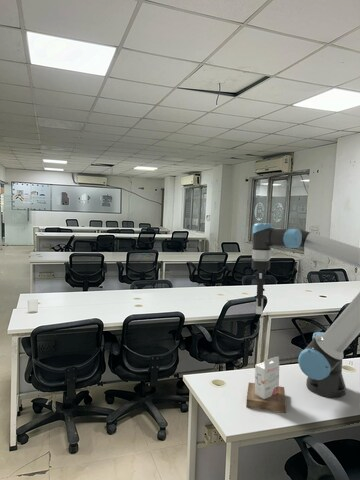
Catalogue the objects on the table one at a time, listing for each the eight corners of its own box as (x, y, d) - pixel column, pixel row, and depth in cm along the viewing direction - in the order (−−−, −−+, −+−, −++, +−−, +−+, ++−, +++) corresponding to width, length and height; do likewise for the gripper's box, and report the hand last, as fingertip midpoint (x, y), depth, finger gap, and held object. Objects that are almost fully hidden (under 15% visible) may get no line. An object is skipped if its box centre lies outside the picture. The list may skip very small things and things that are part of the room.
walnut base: (284, 394, 140) (284, 386, 140) (285, 412, 127) (285, 404, 127) (248, 389, 144) (248, 382, 144) (246, 407, 130) (246, 399, 130)
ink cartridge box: (268, 388, 139) (270, 352, 138) (278, 393, 135) (280, 356, 134) (253, 394, 134) (255, 356, 133) (263, 399, 130) (265, 361, 129)
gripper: (252, 256, 160) (251, 302, 161) (251, 263, 136) (249, 316, 137) (269, 257, 158) (268, 303, 159) (271, 263, 134) (269, 318, 135)
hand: (259, 309), depth 148 cm, fingers open, 13 cm apart
